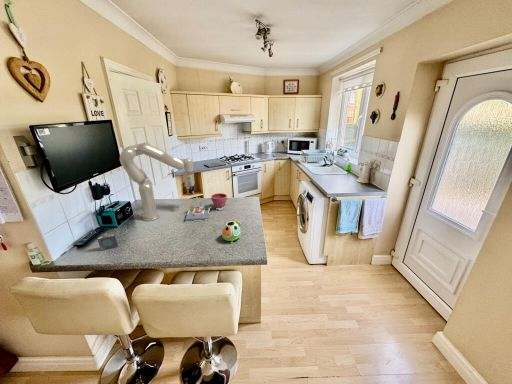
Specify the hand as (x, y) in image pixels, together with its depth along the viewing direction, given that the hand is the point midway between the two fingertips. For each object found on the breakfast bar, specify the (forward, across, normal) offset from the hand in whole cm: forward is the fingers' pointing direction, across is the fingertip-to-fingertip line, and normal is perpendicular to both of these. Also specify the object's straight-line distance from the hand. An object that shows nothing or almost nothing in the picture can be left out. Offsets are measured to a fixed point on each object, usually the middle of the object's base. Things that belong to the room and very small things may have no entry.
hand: (191, 192), depth 179 cm
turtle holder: (+18, -50, -36) cm, 64 cm away
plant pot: (+18, +1, -24) cm, 30 cm away
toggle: (+14, -2, -7) cm, 16 cm away
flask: (+18, -54, +44) cm, 72 cm away
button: (+13, -14, -7) cm, 21 cm away
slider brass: (+15, -6, 0) cm, 16 cm away
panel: (+18, -11, -6) cm, 22 cm away
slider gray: (+15, -6, -13) cm, 21 cm away
